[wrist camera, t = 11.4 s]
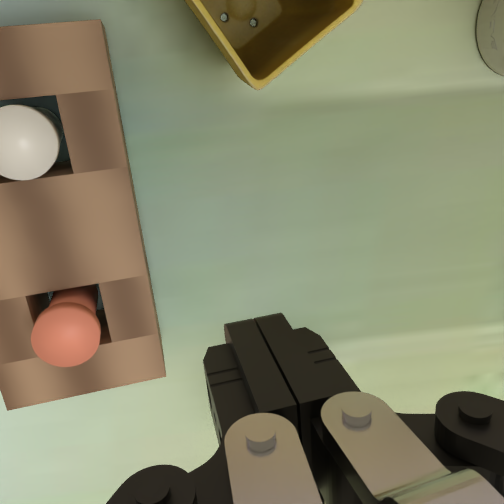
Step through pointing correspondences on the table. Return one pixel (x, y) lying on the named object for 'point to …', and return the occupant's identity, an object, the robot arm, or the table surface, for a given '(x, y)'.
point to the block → (73, 222)
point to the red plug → (68, 327)
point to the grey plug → (28, 141)
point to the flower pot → (268, 31)
